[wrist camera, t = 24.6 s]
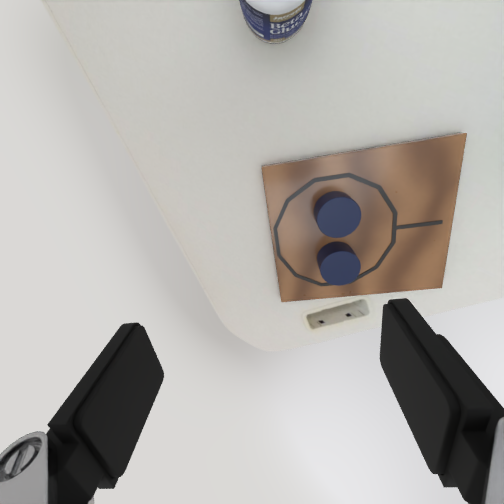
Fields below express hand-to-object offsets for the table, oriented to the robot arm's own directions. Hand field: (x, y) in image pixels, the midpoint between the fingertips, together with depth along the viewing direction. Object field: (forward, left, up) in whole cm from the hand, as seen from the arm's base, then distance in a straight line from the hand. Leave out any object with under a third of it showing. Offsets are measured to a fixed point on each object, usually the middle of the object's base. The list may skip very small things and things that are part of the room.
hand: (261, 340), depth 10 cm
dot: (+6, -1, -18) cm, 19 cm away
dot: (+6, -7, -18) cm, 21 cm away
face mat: (+9, -4, -19) cm, 22 cm away
